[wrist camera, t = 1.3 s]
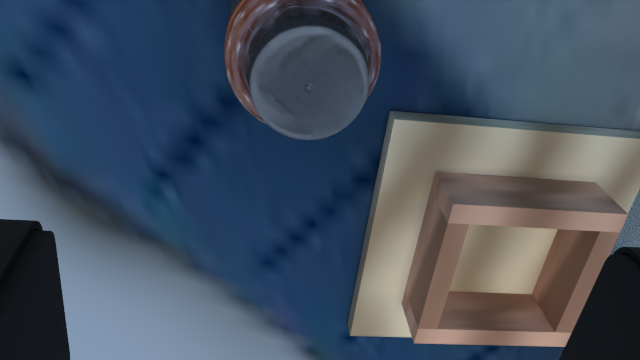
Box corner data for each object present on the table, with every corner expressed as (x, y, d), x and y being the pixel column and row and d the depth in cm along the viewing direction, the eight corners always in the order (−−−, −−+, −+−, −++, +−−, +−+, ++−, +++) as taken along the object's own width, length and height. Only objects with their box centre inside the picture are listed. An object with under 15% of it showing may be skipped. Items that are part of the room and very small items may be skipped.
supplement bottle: (317, 84, 30) (344, 193, 21) (213, 35, 29) (188, 130, 19) (372, -20, 28) (432, 48, 18) (262, -80, 26) (263, -40, 16)
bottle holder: (649, 132, 34) (702, 169, 30) (560, 328, 41) (593, 380, 37) (389, 110, 31) (408, 148, 27) (347, 323, 39) (357, 377, 35)
